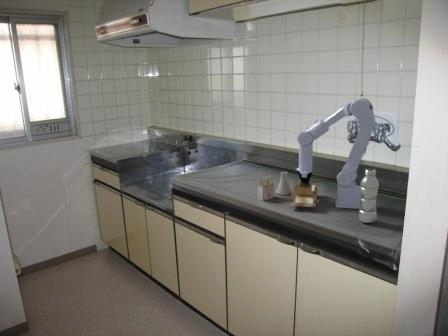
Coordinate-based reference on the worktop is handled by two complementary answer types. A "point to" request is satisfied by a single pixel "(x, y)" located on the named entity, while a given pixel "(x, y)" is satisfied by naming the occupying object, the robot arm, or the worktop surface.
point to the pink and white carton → (265, 188)
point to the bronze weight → (304, 189)
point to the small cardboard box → (303, 197)
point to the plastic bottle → (368, 197)
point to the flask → (283, 185)
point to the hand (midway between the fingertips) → (304, 189)
